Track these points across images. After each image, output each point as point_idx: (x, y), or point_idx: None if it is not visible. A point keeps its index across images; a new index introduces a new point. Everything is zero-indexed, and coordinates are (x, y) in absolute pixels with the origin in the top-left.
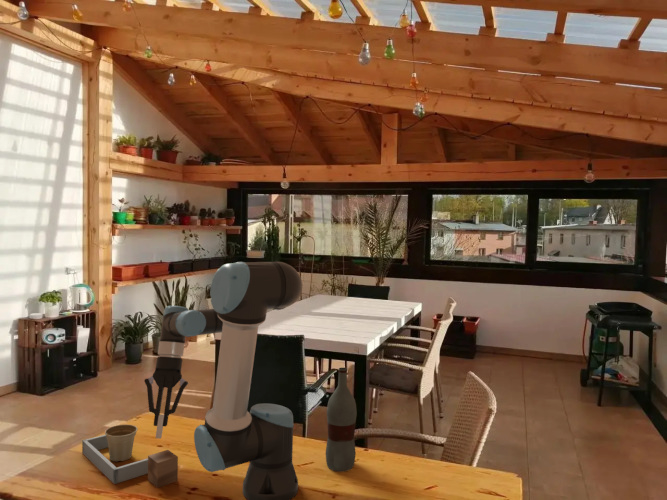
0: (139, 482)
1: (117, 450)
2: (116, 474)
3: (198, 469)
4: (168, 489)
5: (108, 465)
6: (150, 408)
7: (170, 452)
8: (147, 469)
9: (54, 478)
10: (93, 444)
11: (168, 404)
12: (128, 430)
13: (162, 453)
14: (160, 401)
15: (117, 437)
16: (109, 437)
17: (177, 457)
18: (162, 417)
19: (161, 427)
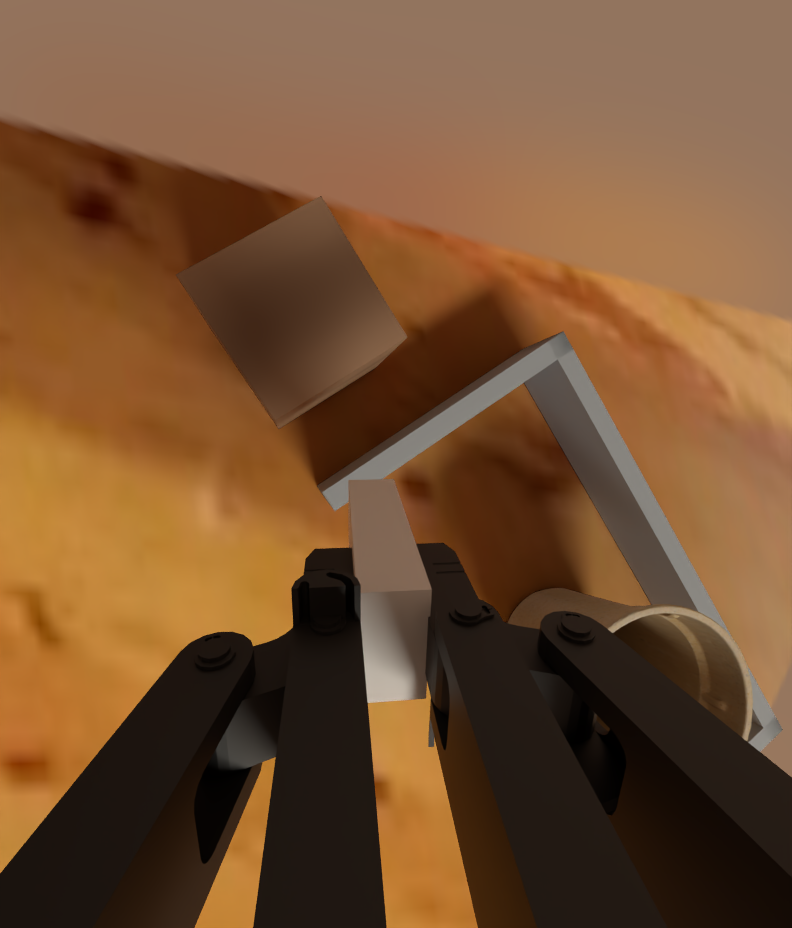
0: (411, 345)
1: (594, 598)
2: (538, 344)
3: (90, 451)
4: None
5: (601, 405)
6: (602, 643)
7: (247, 364)
8: (392, 437)
9: (759, 448)
10: None
11: (302, 744)
12: None
13: (308, 355)
14: (500, 778)
15: (656, 609)
16: (699, 625)
17: (180, 274)
18: (371, 576)
19: (359, 519)
